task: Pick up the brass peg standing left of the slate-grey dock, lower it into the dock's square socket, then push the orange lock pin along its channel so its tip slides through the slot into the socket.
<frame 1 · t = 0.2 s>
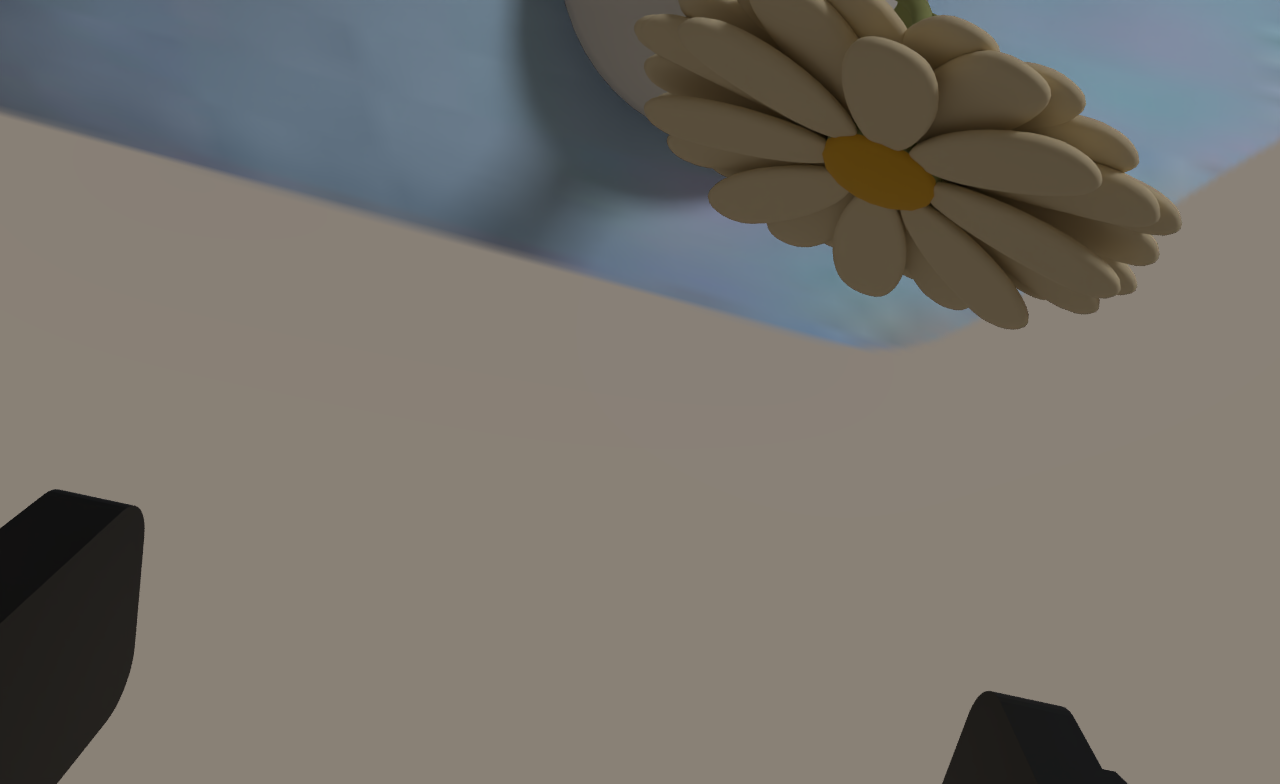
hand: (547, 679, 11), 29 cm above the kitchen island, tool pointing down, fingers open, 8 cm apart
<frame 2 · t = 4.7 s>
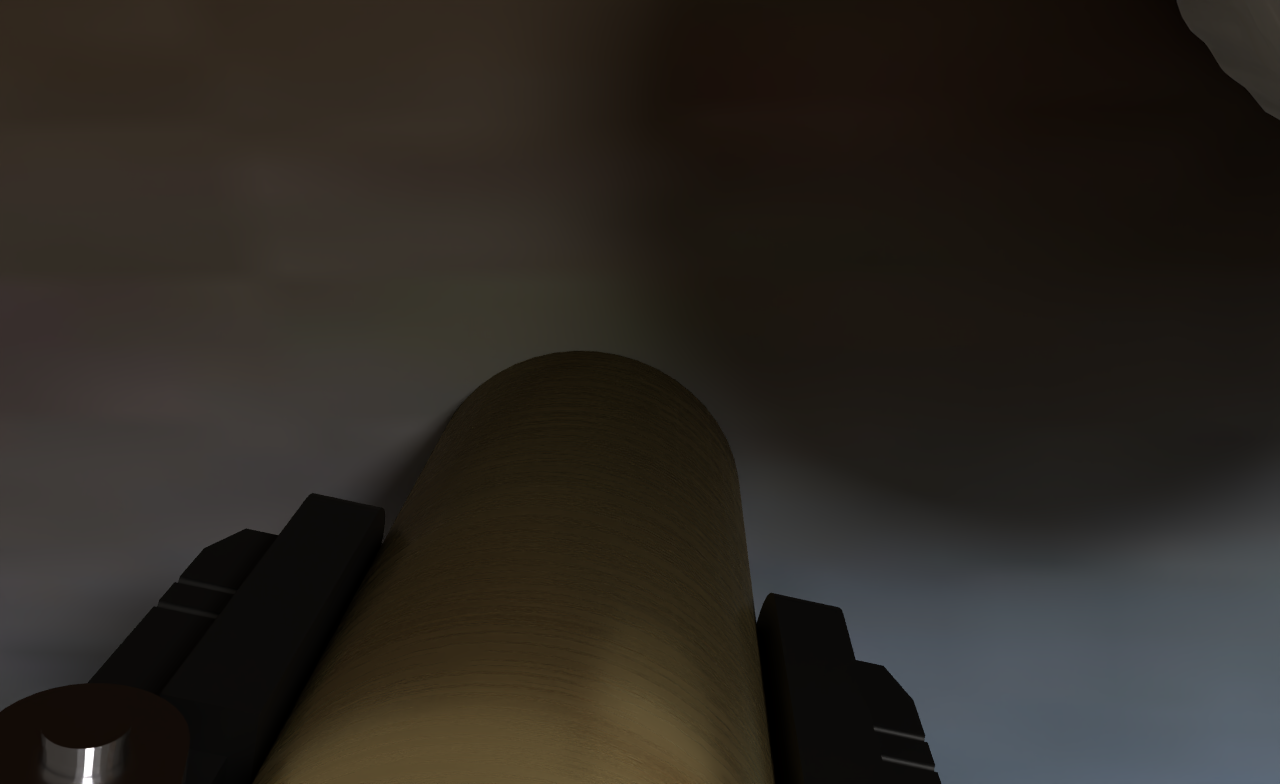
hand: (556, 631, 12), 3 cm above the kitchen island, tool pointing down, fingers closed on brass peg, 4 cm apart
brass peg: (584, 498, 15), on the kitchen island, touching gripper
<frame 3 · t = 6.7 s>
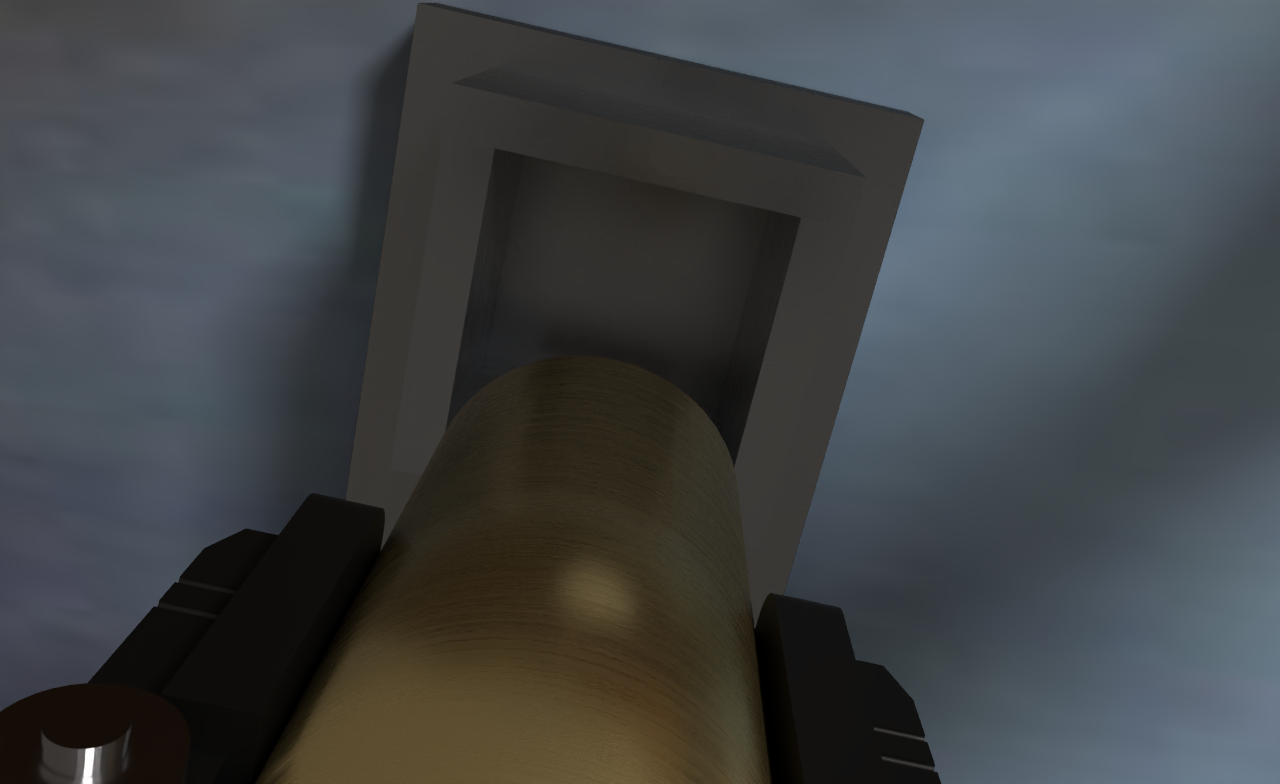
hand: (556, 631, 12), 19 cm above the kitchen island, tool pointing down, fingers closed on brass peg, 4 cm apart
brass peg: (583, 502, 15), point 16 cm above the kitchen island, touching gripper
dock: (600, 392, 31), on the kitchen island
when the fingers open (8 cm above the kitchen island, at t = 9.1 s): brass peg drops 2 cm, resting on dock.
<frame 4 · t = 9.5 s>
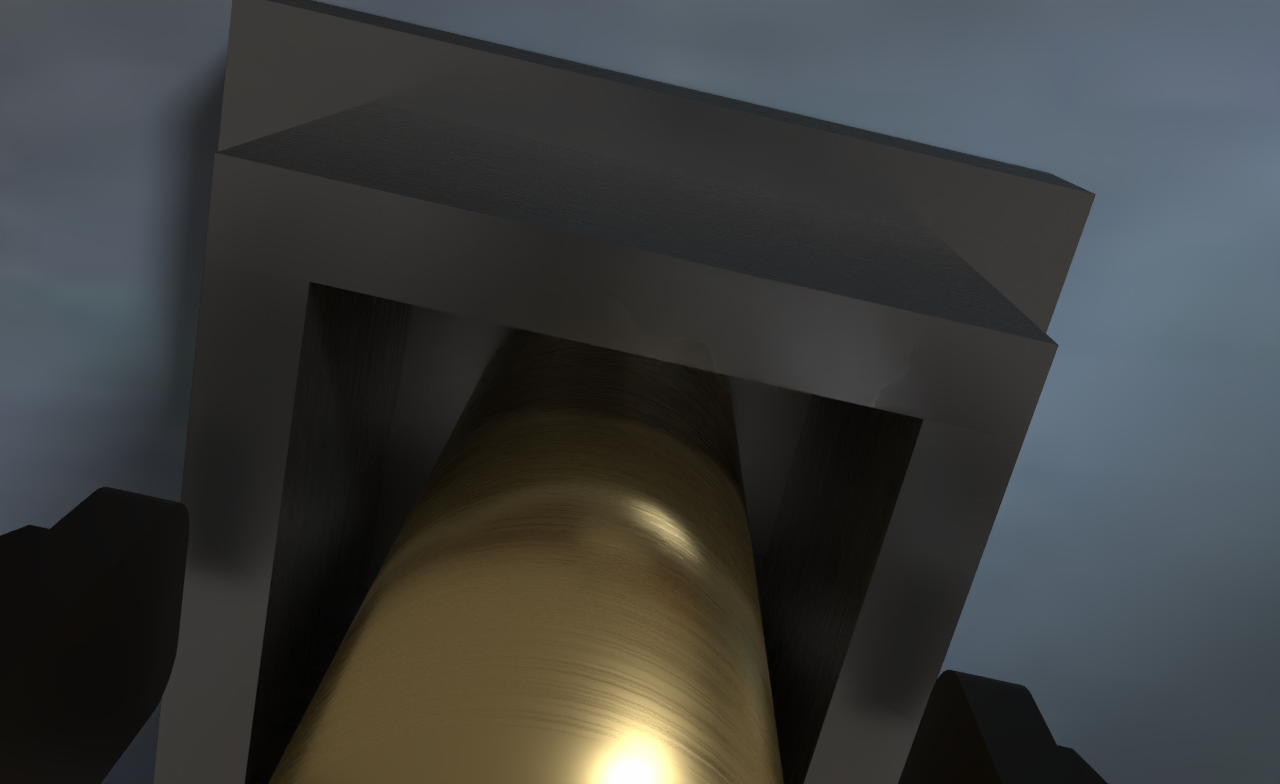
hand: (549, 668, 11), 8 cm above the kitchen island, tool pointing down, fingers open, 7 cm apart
brass peg: (602, 434, 17), point 2 cm above the kitchen island, touching dock
dock: (557, 594, 20), on the kitchen island
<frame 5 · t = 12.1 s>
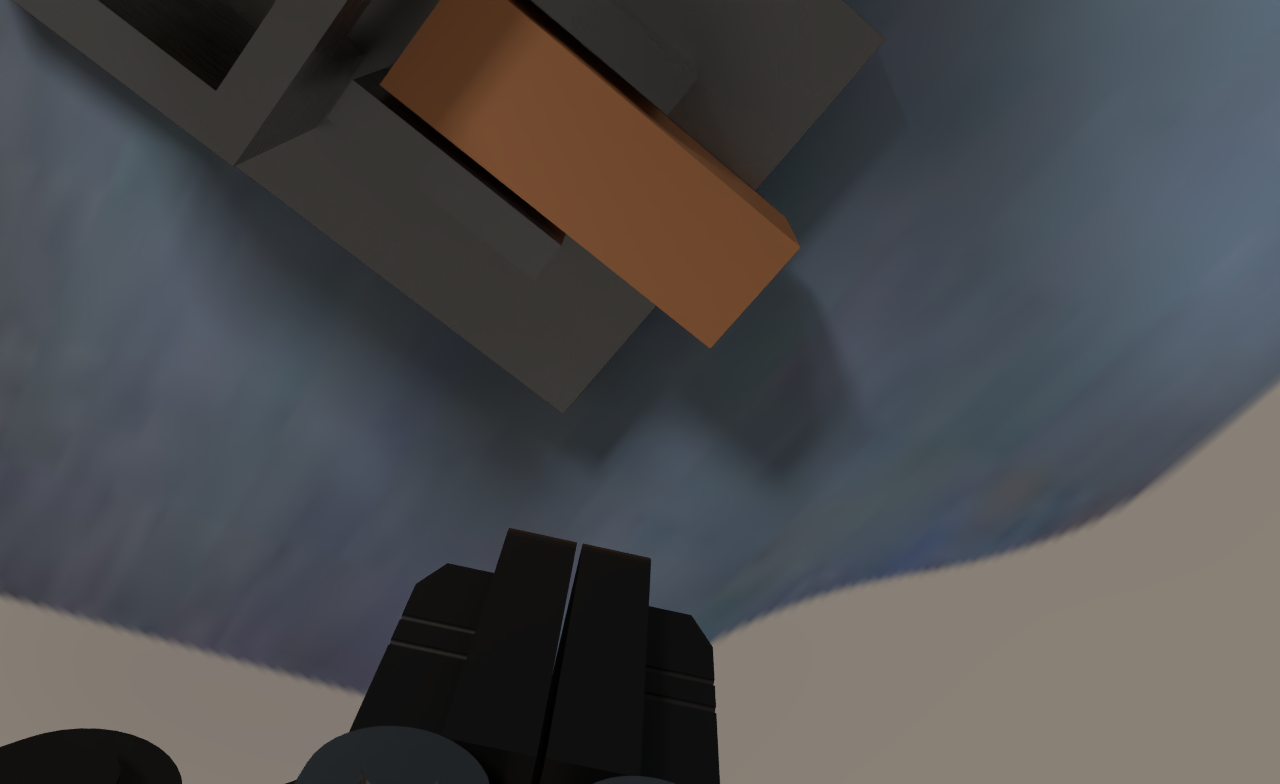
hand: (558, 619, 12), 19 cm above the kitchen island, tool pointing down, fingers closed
lock pin: (598, 156, 25), point 4 cm above the kitchen island, slide at 0.0 cm
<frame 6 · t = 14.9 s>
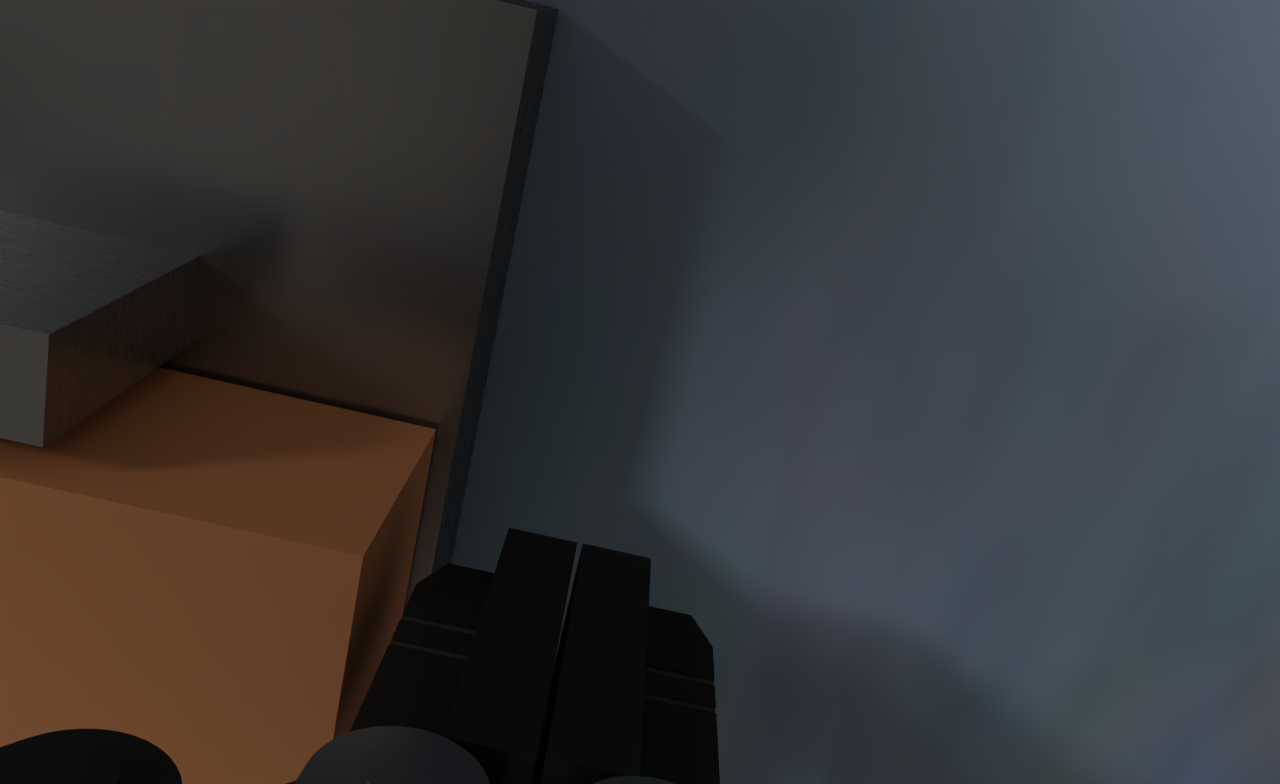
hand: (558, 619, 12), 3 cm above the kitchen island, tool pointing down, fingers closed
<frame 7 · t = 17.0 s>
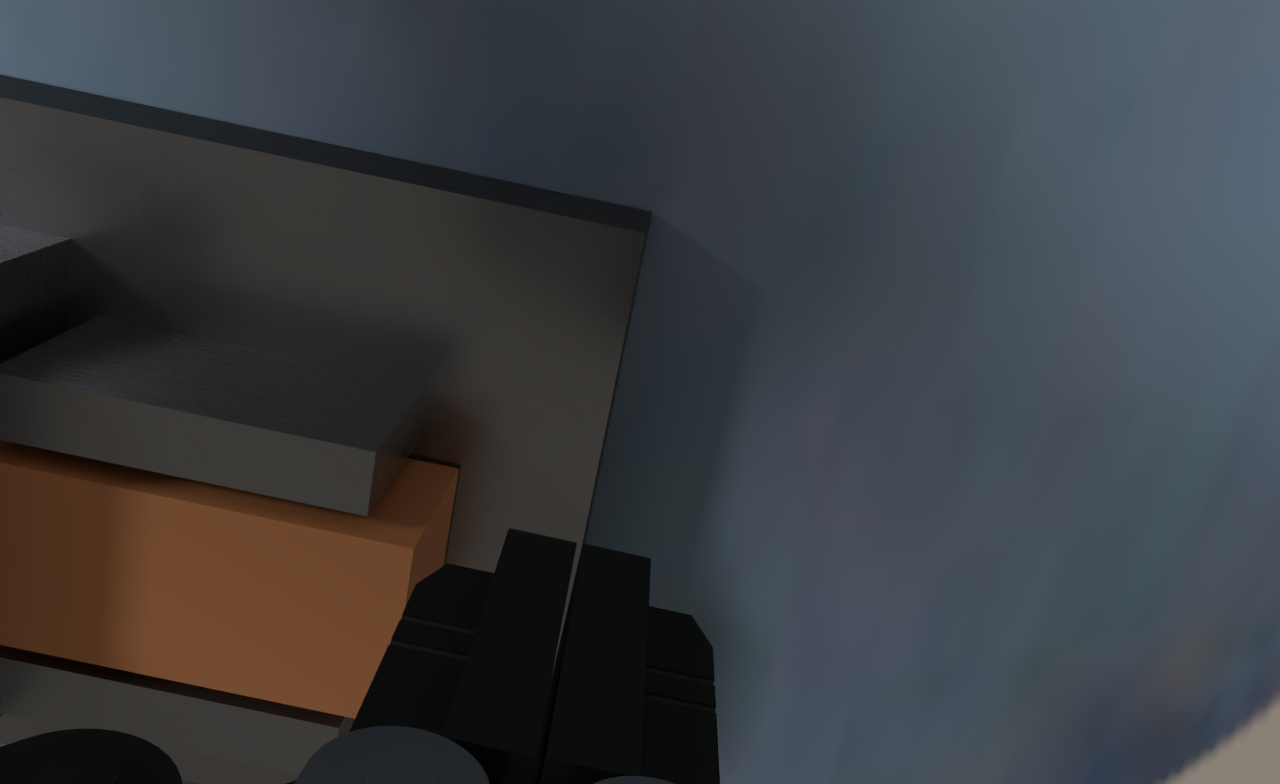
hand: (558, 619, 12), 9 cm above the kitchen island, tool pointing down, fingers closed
dock: (120, 425, 21), on the kitchen island
lock pin: (146, 532, 18), point 4 cm above the kitchen island, slide at 3.3 cm, touching brass peg
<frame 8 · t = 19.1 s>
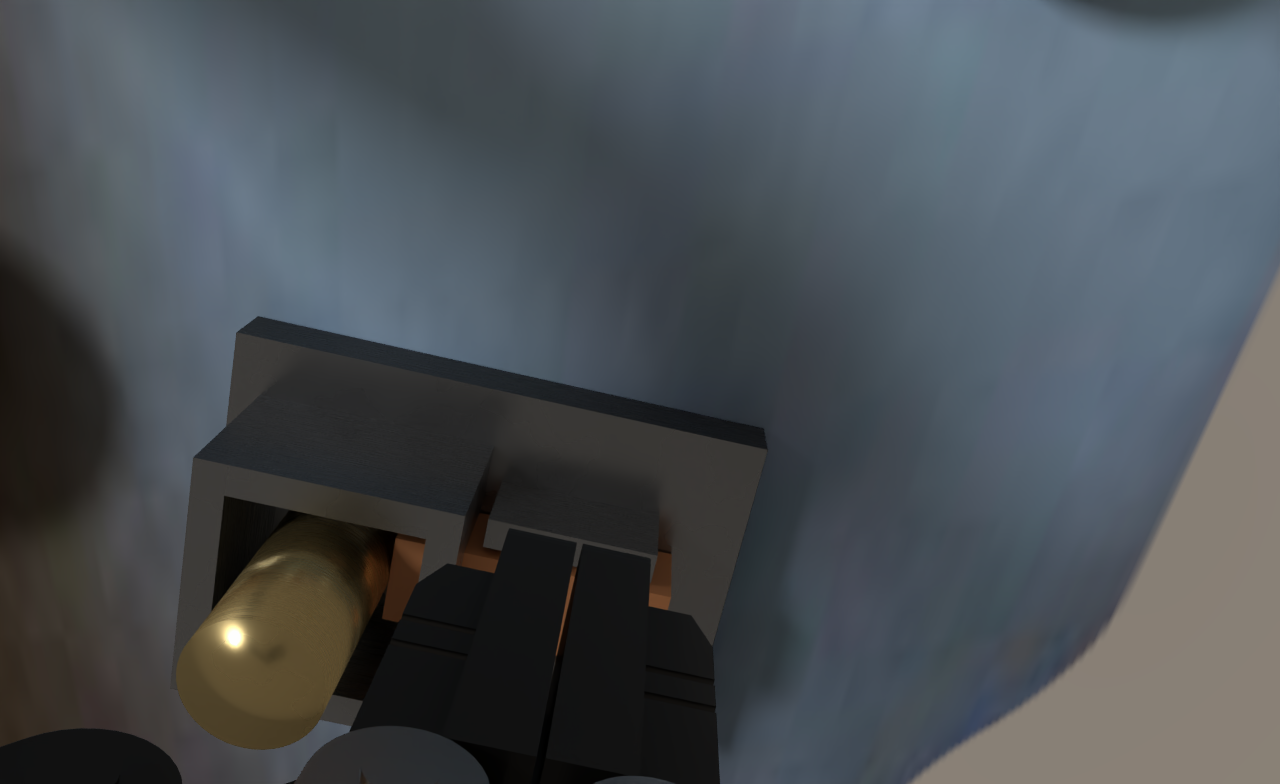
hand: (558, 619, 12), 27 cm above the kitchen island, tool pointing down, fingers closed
brass peg: (354, 521, 39), point 2 cm above the kitchen island, touching dock, lock pin
dock: (483, 524, 41), on the kitchen island
lock pin: (531, 585, 38), point 4 cm above the kitchen island, slide at 3.3 cm, touching brass peg
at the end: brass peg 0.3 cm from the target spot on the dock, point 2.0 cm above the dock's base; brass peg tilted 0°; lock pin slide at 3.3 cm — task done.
